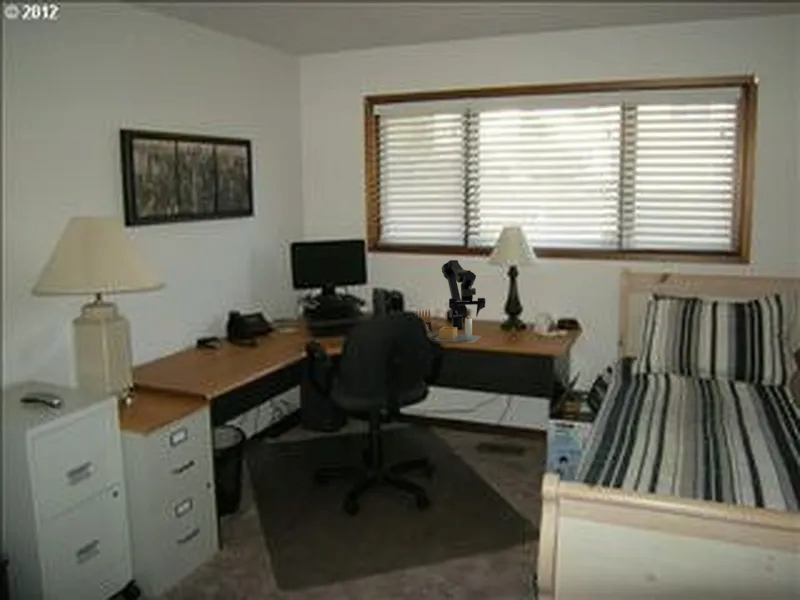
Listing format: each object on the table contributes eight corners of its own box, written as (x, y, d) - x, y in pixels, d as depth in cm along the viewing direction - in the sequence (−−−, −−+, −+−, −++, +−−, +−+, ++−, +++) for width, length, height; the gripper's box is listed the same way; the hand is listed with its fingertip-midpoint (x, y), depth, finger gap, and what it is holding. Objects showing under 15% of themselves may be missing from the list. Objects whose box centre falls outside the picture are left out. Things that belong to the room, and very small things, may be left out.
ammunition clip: (413, 332, 379) (412, 311, 377) (412, 332, 381) (411, 310, 378) (431, 331, 382) (431, 309, 380) (430, 330, 384) (430, 308, 382)
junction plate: (441, 335, 372) (441, 324, 371) (481, 337, 364) (481, 327, 363) (431, 341, 357) (431, 331, 356) (473, 344, 349) (473, 334, 348)
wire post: (466, 339, 357) (466, 315, 355) (472, 339, 356) (472, 315, 354) (464, 340, 354) (464, 316, 352) (470, 341, 353) (470, 316, 351)
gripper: (448, 283, 361) (449, 307, 352) (485, 282, 361) (487, 307, 352) (448, 295, 370) (449, 320, 361) (483, 295, 370) (485, 319, 361)
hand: (467, 316), depth 358 cm, fingers open, 9 cm apart
